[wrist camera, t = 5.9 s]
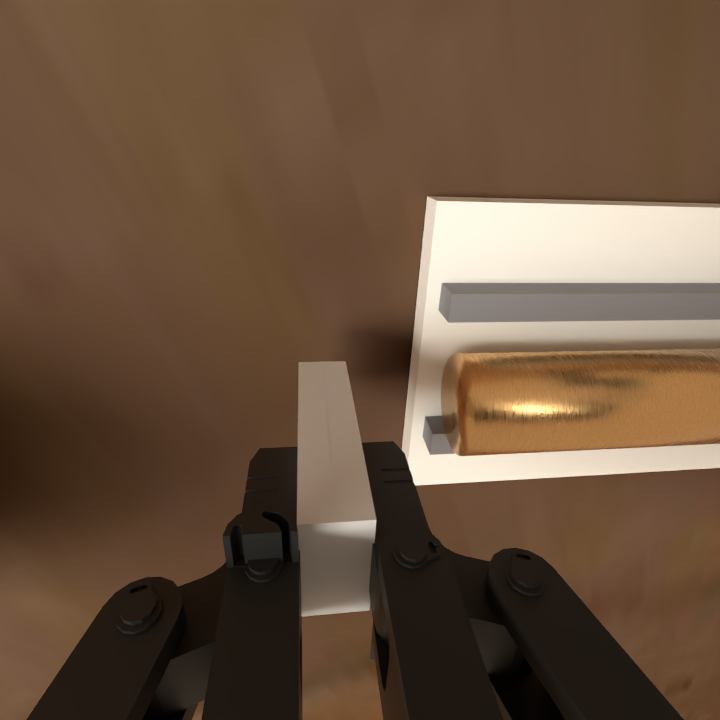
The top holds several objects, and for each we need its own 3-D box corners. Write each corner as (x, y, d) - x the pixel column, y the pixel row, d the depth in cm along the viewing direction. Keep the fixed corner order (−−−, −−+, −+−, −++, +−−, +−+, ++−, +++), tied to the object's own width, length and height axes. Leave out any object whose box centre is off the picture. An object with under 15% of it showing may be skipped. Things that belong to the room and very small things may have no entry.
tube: (435, 397, 18) (457, 477, 15) (454, 331, 15) (485, 413, 13) (775, 387, 20) (845, 456, 17) (843, 326, 17) (937, 397, 15)
